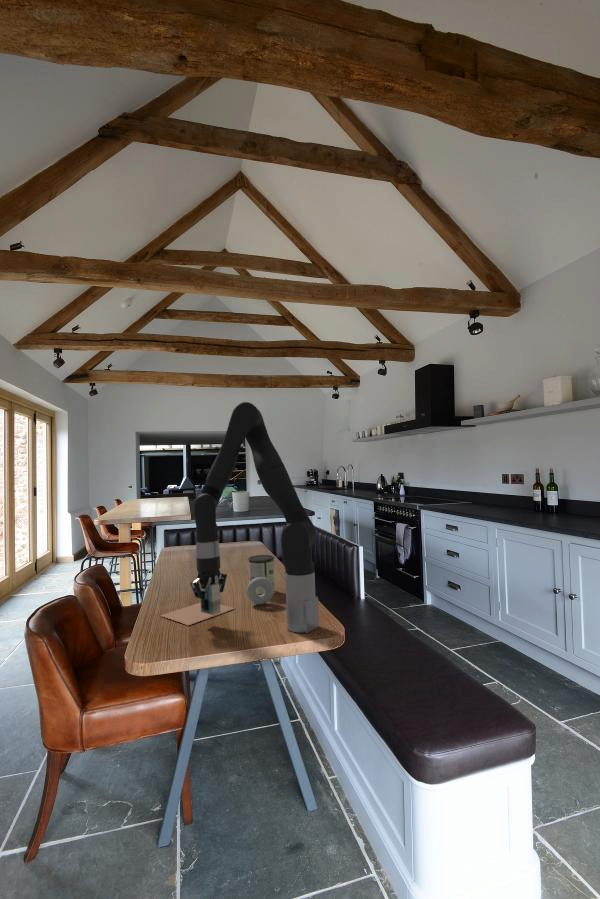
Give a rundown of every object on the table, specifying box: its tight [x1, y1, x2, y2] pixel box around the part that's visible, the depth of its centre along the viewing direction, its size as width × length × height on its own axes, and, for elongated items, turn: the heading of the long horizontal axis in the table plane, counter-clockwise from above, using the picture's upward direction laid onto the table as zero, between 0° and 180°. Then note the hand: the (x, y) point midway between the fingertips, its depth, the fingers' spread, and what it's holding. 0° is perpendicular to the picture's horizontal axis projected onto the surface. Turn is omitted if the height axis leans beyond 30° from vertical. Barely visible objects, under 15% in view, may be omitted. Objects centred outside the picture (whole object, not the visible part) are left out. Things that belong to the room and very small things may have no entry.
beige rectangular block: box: [199, 584, 221, 615], centre depth 143 cm, size 6×3×9 cm, turn 51°
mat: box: [160, 602, 236, 627], centre depth 156 cm, size 16×20×1 cm
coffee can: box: [247, 554, 276, 595], centre depth 178 cm, size 10×10×14 cm
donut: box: [246, 577, 274, 605], centre depth 163 cm, size 10×4×10 cm, turn 98°
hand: (210, 608), depth 143 cm, fingers closed on beige rectangular block, 3 cm apart
